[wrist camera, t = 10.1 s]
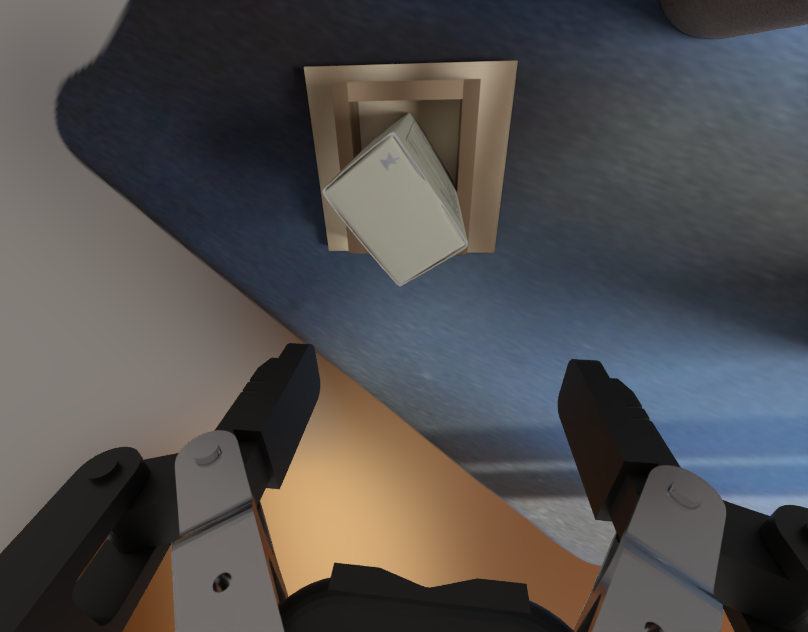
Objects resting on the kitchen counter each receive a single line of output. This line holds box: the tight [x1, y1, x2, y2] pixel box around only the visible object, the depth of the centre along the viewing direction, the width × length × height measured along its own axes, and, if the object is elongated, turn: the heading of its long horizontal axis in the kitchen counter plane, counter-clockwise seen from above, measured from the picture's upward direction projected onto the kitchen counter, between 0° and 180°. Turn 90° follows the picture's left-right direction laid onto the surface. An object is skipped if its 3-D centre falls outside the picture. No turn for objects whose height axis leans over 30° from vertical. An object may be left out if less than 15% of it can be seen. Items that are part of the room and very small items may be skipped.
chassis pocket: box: [304, 61, 518, 255], centre depth 26 cm, size 14×13×4 cm
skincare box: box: [322, 112, 468, 286], centre depth 22 cm, size 6×4×12 cm
